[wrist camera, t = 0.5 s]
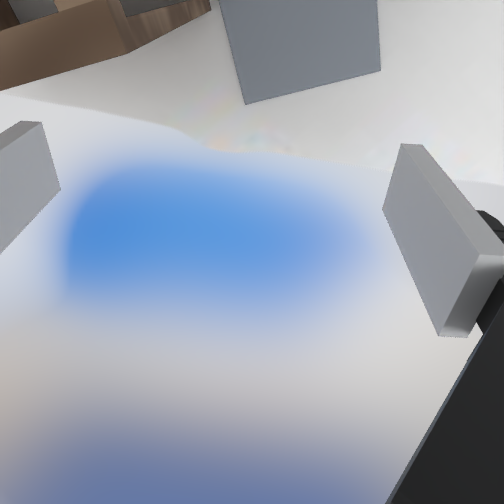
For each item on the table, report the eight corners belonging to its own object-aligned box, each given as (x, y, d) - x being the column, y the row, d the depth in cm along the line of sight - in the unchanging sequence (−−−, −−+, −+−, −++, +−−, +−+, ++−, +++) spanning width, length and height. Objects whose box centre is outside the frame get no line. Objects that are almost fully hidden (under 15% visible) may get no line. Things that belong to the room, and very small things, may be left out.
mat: (204, -59, 33) (203, -60, 33) (368, -115, 31) (370, -116, 30) (245, 103, 41) (245, 104, 41) (379, 69, 39) (380, 70, 38)
